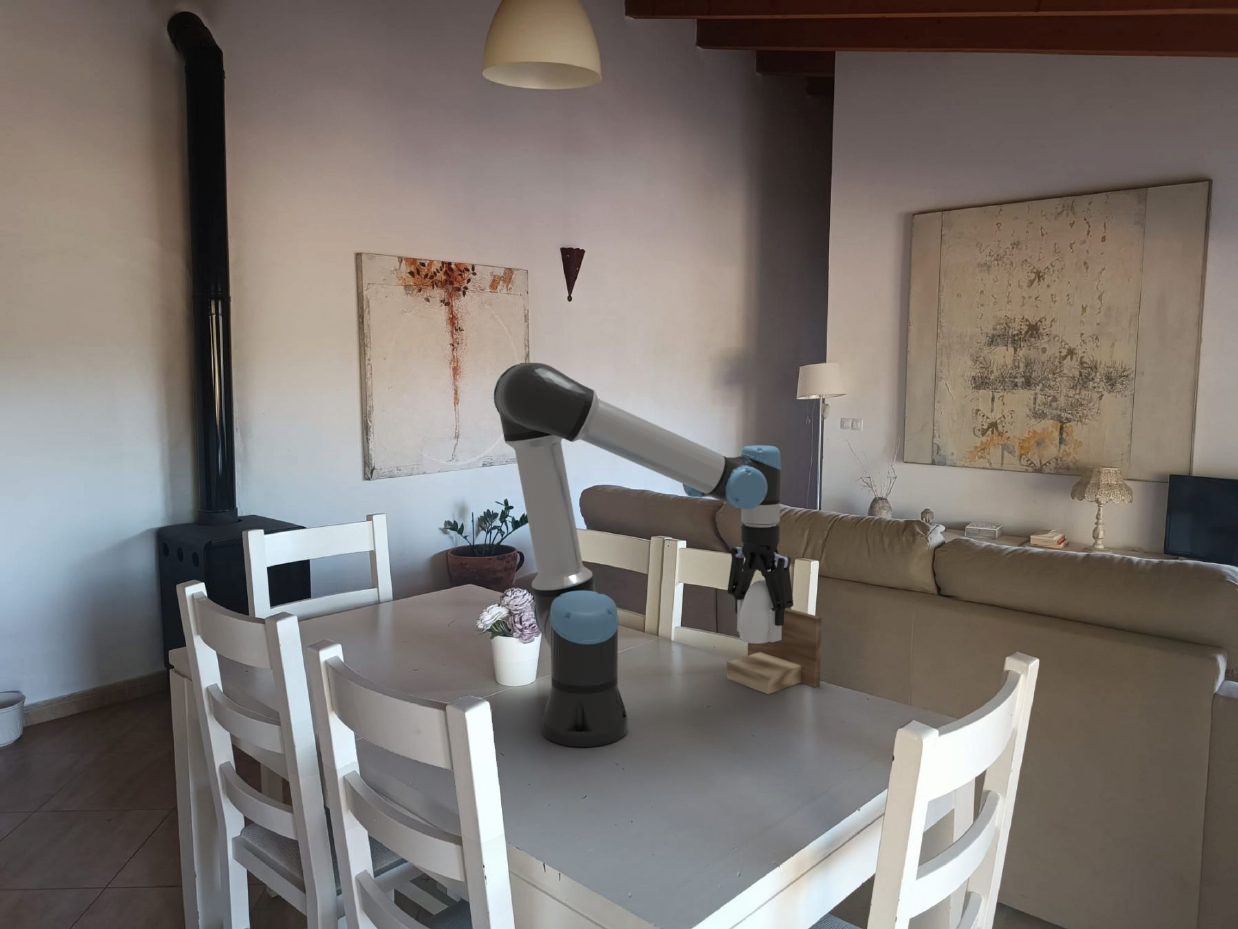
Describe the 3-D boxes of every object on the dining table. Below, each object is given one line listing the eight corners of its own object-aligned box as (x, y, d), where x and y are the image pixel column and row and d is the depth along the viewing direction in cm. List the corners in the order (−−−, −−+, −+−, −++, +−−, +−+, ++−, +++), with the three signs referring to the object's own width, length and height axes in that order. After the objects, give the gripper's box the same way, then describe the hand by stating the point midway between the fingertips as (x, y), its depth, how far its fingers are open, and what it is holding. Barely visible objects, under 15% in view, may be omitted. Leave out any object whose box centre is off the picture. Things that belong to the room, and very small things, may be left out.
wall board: (782, 699, 165) (783, 628, 163) (714, 674, 179) (715, 608, 177) (819, 685, 172) (821, 617, 170) (752, 662, 186) (753, 598, 184)
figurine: (779, 644, 169) (780, 585, 168) (740, 644, 170) (741, 585, 168) (773, 633, 176) (774, 576, 175) (736, 633, 177) (737, 576, 175)
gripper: (814, 528, 164) (812, 644, 167) (735, 514, 180) (733, 620, 183) (789, 533, 160) (786, 652, 162) (709, 518, 176) (708, 627, 178)
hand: (758, 635), depth 173 cm, fingers closed on figurine, 8 cm apart
